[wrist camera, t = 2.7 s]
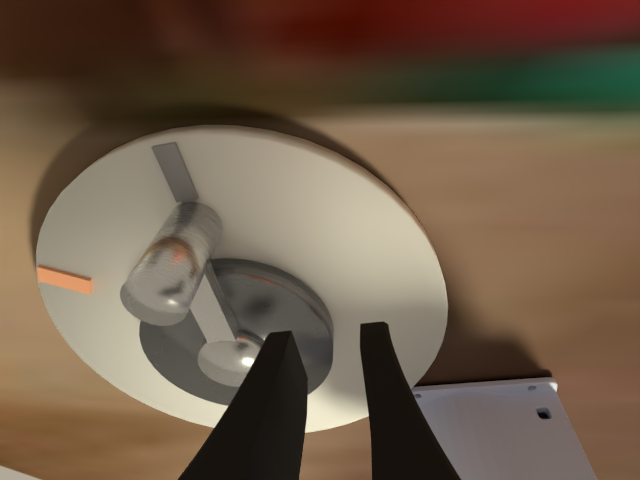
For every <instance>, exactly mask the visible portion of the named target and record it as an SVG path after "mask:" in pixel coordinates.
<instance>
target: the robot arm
mask: <svg viewBox="0 0 640 480" xmlns="http://www.w3.org/2000/svg"><path fill="white" fill-rule="evenodd" d="M360 353H361V361H362V368H363V376H364V383H365V391H366V398H367V405H368V413H369V420H370V431H371V447H372V480H597V478H596V476H595V473H594V471H593V469H592V467H591V465H590V463H589V461H588V459H587V456H586V454H585V452H584V450H583V448H582V446H581V444H580V441H579V439H578V437H577V435H576V433H575V431H574V429H573V427H572V424H571V422H570V420H569V418H568V416H567V414H566V412H565V410H564V407H563V405H562V403H561V401H560V399H559V397H558V395H557V393H556V391H557V382H556V380H555V379H554V378H551V377H543V378H529V379H515V380H501V381H487V382H474V383H460V384H446V385H432V386H418V387H413V388H411V389H410V386H409V384H408V382H407V380H406V378H405V376H404V373H403V371H402V368H401V366H400V363H399V361H398V358H397V355H396V353H395V350H394V347H393V343H392V340H391V336H390V332H389V325H388V324H387V323H386V322H384V321H382V322H372V323H362V324H360ZM307 400H308V377H307V374H306V371H305V368H304V365H303V362H302V359H301V356H300V353H299V351H298V348H297V345H296V342H295V339H294V336H293V333H292V330H291V331H280V332H270V333H269V334H268V335H267V337H266V339H265V341H264V343H263V345H262V347H261V349H260V351H259V353H258V355H257V356H256V358H255V360H254V362H253V364H252V366H251V368H250V369H249V371H248V373H247V375H246V377H245V379H244V380H243V382H242V384H241V385H240V387H239V389H238V391H237V392H236V394H235V396H234V397H233V399H232V401H231V402H230V404H229V406H228V407H227V409H226V411H225V412H224V414H223V415H222V417H221V418H220V420H219V422H218V423H217V425H216V426H215V428H214V429H213V431H212V432H211V434H210V435H209V437H208V438H207V440H206V441H205V443H204V444H203V446H202V447H201V449H200V450H199V451H198V453H197V454H196V456H195V457H194V458H193V460H192V461H191V463H190V464H189V465H188V467H187V468H186V469H185V471H184V472H183V473H182V475H181V476H180V477H179V479H178V480H299V473H300V466H301V458H302V451H303V443H304V435H305V428H306V420H307Z"/></svg>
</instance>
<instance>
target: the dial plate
mask: <svg viewBox="0 0 640 480" xmlns="http://www.w3.org/2000/svg"><path fill="white" fill-rule="evenodd" d="M184 202H198V203H201V204H204V205H206V206H208V207H210V208H211V209H212V210H214V211H215V212H216V214H217V215H218V216H219V218H220V220H221V222H222V226H223V231H222V235H221V237H220V239H219V242H218V244H217V246H216V249H215V251H214V253H213V255H212V258H211V259H220V258H235V259H245V260H252V261H256V262H260V263H264V264H268V265H270V266H273V267H276V268H279V269H281V270H283V271H285V272H287V273H289V274H291V275H293V276H294V277H296V278H298V279H299V280H301V281H302V282H304V283H305V284H306V285H307V286H309V287H310V288H311V289H312V290H313V291H314V292H315V293H316V294H317V295H318V296H319V297H320V298H321V300H322V301H323V302H324V304H325V305H326V307H327V309H328V311H329V313H330V315H331V318H332V321H333V327H334V344H333V362H332V367H331V370H330V372H329V374H328V376H327V377H326V379H325V380H324V382H323V383H322V384H321V385H320V386H319V387H318V388H317V389H316V390H314V391H313V392H312V393H310V394H309V395H308V400H307V420H306V428H305V432H313V431H319V430H325V429H330V428H334V427H338V426H341V425H345V424H349V423H351V422H354V421H357V420H360V419H362V418H365V417H367V416H369V413H368V405H367V398H366V391H365V383H364V376H363V368H362V361H361V353H360V324H362V323H372V322H382V321H384V322H386V323H387V324H388V325H389V332H390V336H391V340H392V343H393V347H394V350H395V353H396V355H397V358H398V361H399V363H400V366H401V368H402V371H403V373H404V376H405V378H406V380H407V382H408V384H409V386H410V389H411V388H413V386H414V385H415V384H416V383H417V382H418V381H419V380H420V379H421V378H422V377H423V376H424V375H425V373H426V372H427V370H428V369H429V367H430V366H431V364H432V363H433V361H434V360H435V358H436V356H437V353H438V351H439V349H440V347H441V345H442V342H443V338H444V334H445V330H446V326H447V314H448V301H447V293H446V285H445V281H444V278H443V275H442V271H441V268H440V265H439V261H438V258H437V255H436V252H435V249H434V247H433V245H432V243H431V241H430V239H429V237H428V235H427V233H426V231H425V229H424V227H423V226H422V224H421V223H420V222H419V220H418V219H417V218H416V216H415V215H414V214H413V212H412V211H411V210H410V208H409V207H408V206H407V205H406V204H405V203H404V202H403V201H402V200H401V199H400V198H399V197H398V196H397V195H396V194H395V193H394V192H393V191H392V190H391V189H390V188H389V187H388V186H387V185H386V184H385V183H383V182H382V181H381V180H379V179H378V178H377V177H375V176H374V175H373V174H371V173H370V172H369V171H367V170H366V169H365V168H363V167H362V166H360V165H358V164H356V163H355V162H353V161H351V160H349V159H348V158H346V157H344V156H342V155H341V154H339V153H337V152H335V151H333V150H330V149H328V148H325V147H323V146H320V145H318V144H316V143H313V142H311V141H308V140H306V139H303V138H299V137H295V136H292V135H288V134H285V133H281V132H277V131H274V130H268V129H261V128H254V127H247V126H240V125H197V126H188V127H179V128H172V129H168V130H164V131H160V132H156V133H153V134H149V135H145V136H142V137H140V138H137V139H135V140H133V141H130V142H128V143H126V144H123V145H121V146H119V147H117V148H115V149H113V150H112V151H110V152H109V153H107V154H106V155H104V156H103V157H101V158H100V159H98V160H96V161H95V162H94V163H92V164H91V165H90V166H89V167H88V168H87V169H85V170H84V171H83V172H82V173H81V174H80V175H79V176H78V177H76V178H75V179H74V180H73V181H72V182H71V183H70V184H69V185H68V186H67V187H66V188H65V189H64V190H63V191H62V192H61V193H60V195H59V196H58V198H57V199H56V200H55V202H54V203H53V205H52V206H51V208H50V209H49V211H48V213H47V215H46V218H45V220H44V222H43V225H42V227H41V229H40V233H39V238H38V243H37V248H36V273H37V279H38V284H39V290H40V293H41V295H42V298H43V301H44V304H45V307H46V309H47V311H48V313H49V315H50V317H51V319H52V321H53V322H54V324H55V326H56V328H57V329H58V331H59V332H60V333H61V335H62V336H63V338H64V339H65V340H66V342H67V343H68V344H69V346H70V347H71V348H72V349H73V350H74V351H75V352H76V353H77V354H78V356H79V357H80V358H81V359H82V360H83V361H84V362H85V363H87V364H88V365H89V366H90V367H91V368H92V369H93V370H94V371H95V372H97V373H98V374H99V375H100V376H102V377H103V378H104V379H106V380H107V381H108V382H110V383H111V384H112V385H114V386H115V387H117V388H118V389H120V390H122V391H123V392H125V393H127V394H128V395H130V396H131V397H133V398H135V399H137V400H139V401H141V402H143V403H145V404H147V405H149V406H151V407H153V408H155V409H158V410H160V411H162V412H165V413H167V414H169V415H172V416H175V417H178V418H181V419H184V420H187V421H190V422H193V423H197V424H201V425H205V426H208V427H213V428H215V426H216V425H217V423H218V422H219V420H220V418H221V417H222V415H223V414H224V412H225V411H226V409H227V407H228V406H226V405H221V404H217V403H213V402H210V401H207V400H204V399H201V398H198V397H196V396H194V395H191V394H189V393H187V392H185V391H183V390H182V389H180V388H178V387H177V386H175V385H174V384H172V383H171V382H169V381H168V380H167V379H166V378H164V377H163V376H162V375H161V374H160V373H159V372H158V371H157V370H156V369H155V368H154V367H153V366H152V364H151V363H150V362H149V360H148V359H147V357H146V355H145V353H144V351H143V349H142V346H141V342H140V337H139V326H140V322H141V320H139V319H138V318H136V317H134V316H133V315H132V314H131V313H129V312H128V311H127V310H126V308H125V307H124V306H123V304H122V302H121V299H120V290H121V287H122V286H123V284H124V283H125V281H126V279H127V278H128V276H129V275H130V273H131V272H132V270H133V269H134V267H135V266H136V264H137V263H138V261H139V260H140V258H141V257H142V255H143V254H144V252H145V251H146V249H147V248H148V246H149V245H150V243H151V242H152V240H153V239H154V237H155V236H156V234H157V233H158V231H159V230H160V228H161V227H162V225H163V224H164V222H165V221H166V219H167V218H168V216H169V214H170V213H171V211H172V210H173V209H174V208H175V207H176V206H177V205H179V204H181V203H184Z"/></svg>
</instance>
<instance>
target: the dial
mask: <svg viewBox="0 0 640 480" xmlns="http://www.w3.org/2000/svg"><path fill="white" fill-rule="evenodd" d="M222 231H223V226H222V222H221V220H220V218H219V216H218V215H217V214H216V212H215V211H214V210H212V209H211V208H210V207H208V206H206V205H204V204H201V203H198V202H184V203H181V204H179V205H177V206H176V207H175V208H174V209H173V210H172V211H171V213H170V214H169V216H168V218H167V219H166V221H165V222H164V224H163V225H162V227H161V228H160V230H159V231H158V233H157V234H156V236H155V237H154V239H153V240H152V242H151V243H150V245H149V246H148V248H147V249H146V251H145V252H144V254H143V255H142V257H141V258H140V260H139V261H138V263H137V264H136V266H135V267H134V269H133V270H132V272H131V273H130V275H129V276H128V278H127V279H126V281H125V283H124V284H123V286H122V287H121V290H120V299H121V302H122V304H123V306H124V307H125V308H126V310H127V311H128V312H129V313H131V314H132V315H133V316H134V317H136V318H138V319H139V320H141V322H140V326H139V337H140V342H141V346H142V349H143V351H144V353H145V355H146V357H147V359H148V360H149V362H150V363H151V364H152V366H153V367H154V368H155V369H156V370H157V371H158V372H159V373H160V374H161V375H162V376H163V377H164V378H166V379H167V380H168V381H169V382H171V383H172V384H174V385H175V386H177V387H178V388H180V389H182V390H183V391H185V392H187V393H189V394H191V395H194V396H196V397H198V398H201V399H204V400H207V401H210V402H213V403H217V404H221V405H226V406H229V404H230V402H231V401H232V399H233V397H234V396H235V394H236V392H237V391H238V389H239V387H240V385H241V384H242V382H243V380H244V379H245V377H246V375H247V373H248V371H249V369H250V368H251V366H252V364H253V362H254V360H255V358H256V356H257V355H258V353H259V351H260V349H261V347H262V345H263V343H264V341H265V339H266V337H267V335H268V334H269V333H270V332H280V331H291V330H292V333H293V336H294V339H295V342H296V345H297V348H298V351H299V353H300V356H301V359H302V362H303V365H304V368H305V371H306V374H307V377H308V395H309V394H310V393H312V392H313V391H314V390H316V389H317V388H318V387H319V386H320V385H321V384H322V383H323V382H324V380H325V379H326V377H327V376H328V374H329V372H330V370H331V367H332V362H333V344H334V327H333V321H332V318H331V315H330V313H329V311H328V309H327V307H326V305H325V304H324V302H323V301H322V300H321V298H320V297H319V296H318V295H317V294H316V293H315V292H314V291H313V290H312V289H311V288H310V287H309V286H307V285H306V284H305V283H304V282H302V281H301V280H299V279H298V278H296V277H294V276H293V275H291V274H289V273H287V272H285V271H283V270H281V269H279V268H276V267H273V266H270V265H268V264H264V263H260V262H256V261H252V260H245V259H235V258H220V259H211V258H212V255H213V253H214V251H215V249H216V246H217V244H218V242H219V239H220V237H221V235H222Z"/></svg>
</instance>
